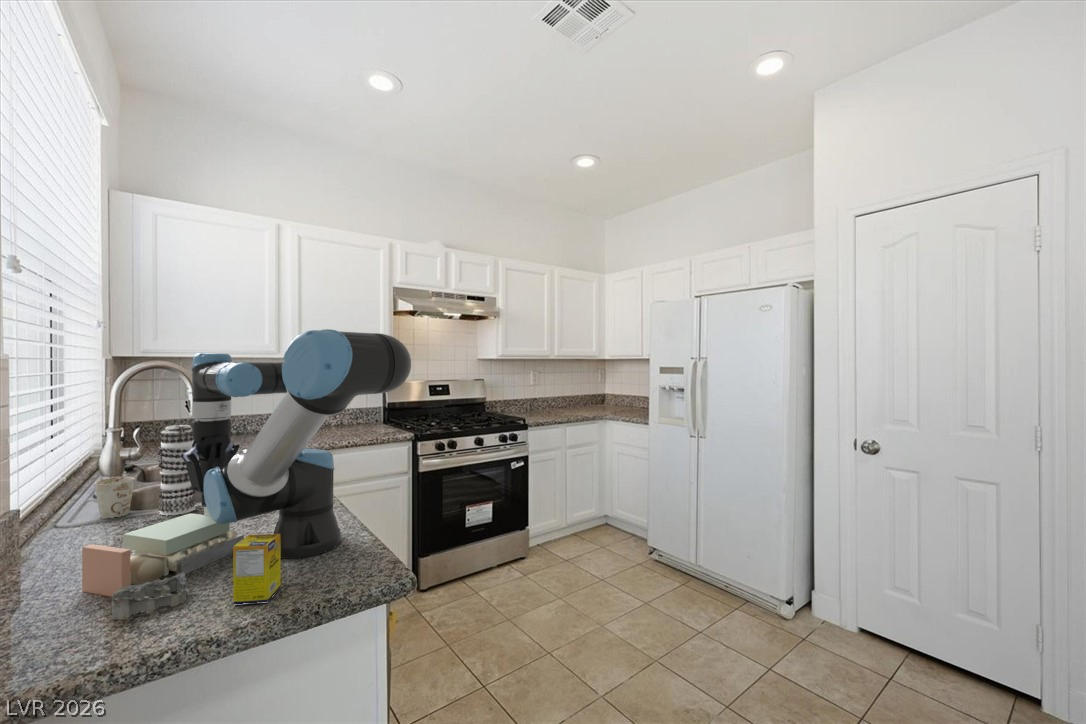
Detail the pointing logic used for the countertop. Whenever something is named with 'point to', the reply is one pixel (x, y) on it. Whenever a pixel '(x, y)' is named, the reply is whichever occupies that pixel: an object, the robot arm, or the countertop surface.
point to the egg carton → (148, 596)
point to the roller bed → (199, 553)
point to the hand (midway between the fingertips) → (211, 518)
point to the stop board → (105, 569)
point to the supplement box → (256, 568)
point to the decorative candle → (175, 471)
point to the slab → (174, 534)
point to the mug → (114, 496)
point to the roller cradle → (166, 570)
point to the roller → (145, 569)
